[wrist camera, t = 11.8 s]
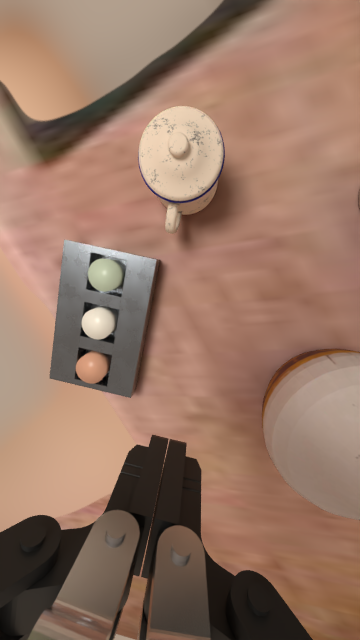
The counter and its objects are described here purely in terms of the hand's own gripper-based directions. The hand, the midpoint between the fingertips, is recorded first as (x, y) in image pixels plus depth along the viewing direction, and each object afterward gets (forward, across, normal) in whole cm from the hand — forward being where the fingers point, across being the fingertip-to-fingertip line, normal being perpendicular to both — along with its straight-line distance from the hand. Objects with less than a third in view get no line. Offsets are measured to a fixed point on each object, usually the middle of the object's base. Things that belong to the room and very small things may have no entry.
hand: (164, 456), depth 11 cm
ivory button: (+28, +13, +3) cm, 31 cm away
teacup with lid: (+29, +5, -17) cm, 34 cm away
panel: (+29, +13, +3) cm, 32 cm away
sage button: (+29, +13, -4) cm, 32 cm away
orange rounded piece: (+28, +13, +10) cm, 33 cm away
